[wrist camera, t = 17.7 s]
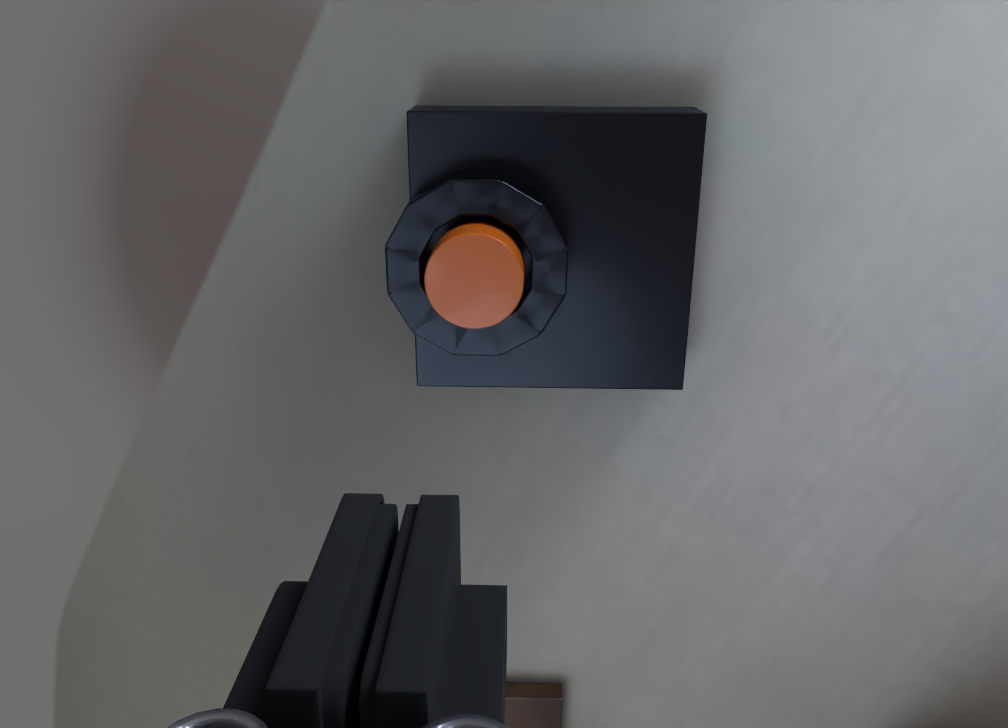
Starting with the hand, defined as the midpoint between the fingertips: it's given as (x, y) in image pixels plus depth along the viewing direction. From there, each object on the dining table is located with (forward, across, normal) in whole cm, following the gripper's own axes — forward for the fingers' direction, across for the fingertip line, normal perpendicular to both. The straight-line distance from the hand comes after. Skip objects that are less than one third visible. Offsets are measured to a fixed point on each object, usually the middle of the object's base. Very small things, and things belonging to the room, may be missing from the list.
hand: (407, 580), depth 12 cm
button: (+17, 0, 0) cm, 17 cm away
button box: (+21, -3, 0) cm, 21 cm away
